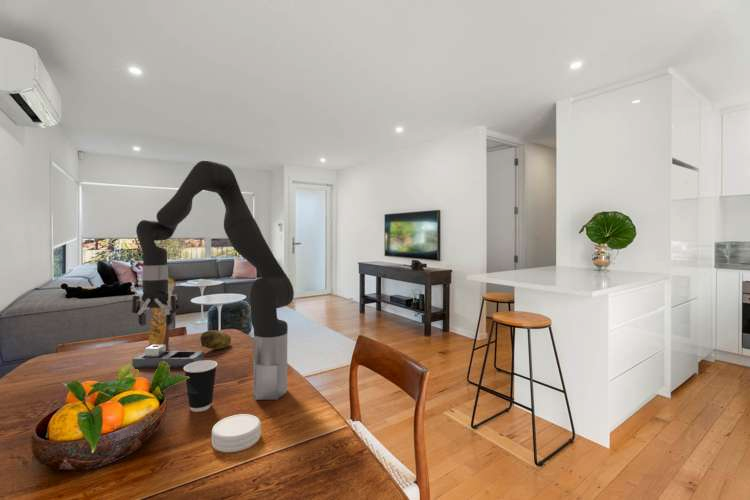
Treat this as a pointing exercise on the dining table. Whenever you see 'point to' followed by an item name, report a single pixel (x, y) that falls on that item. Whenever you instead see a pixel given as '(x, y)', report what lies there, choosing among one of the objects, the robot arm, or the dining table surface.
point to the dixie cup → (200, 384)
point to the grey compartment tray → (169, 359)
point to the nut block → (155, 351)
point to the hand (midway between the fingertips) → (156, 325)
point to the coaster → (236, 433)
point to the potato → (215, 339)
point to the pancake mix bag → (161, 322)
